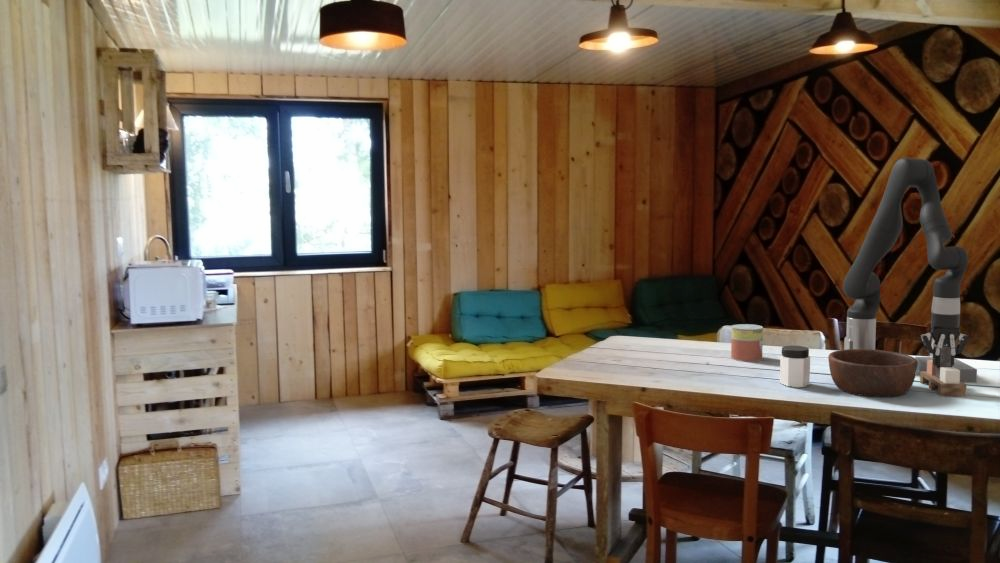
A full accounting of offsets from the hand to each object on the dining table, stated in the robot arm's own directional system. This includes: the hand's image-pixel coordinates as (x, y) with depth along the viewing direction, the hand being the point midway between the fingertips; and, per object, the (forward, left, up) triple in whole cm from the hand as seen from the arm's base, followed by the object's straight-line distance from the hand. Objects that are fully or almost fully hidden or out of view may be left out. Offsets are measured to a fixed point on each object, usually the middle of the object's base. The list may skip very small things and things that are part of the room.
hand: (943, 366), depth 233 cm
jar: (-43, +3, -7) cm, 44 cm away
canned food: (-52, +41, -7) cm, 67 cm away
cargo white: (0, -5, -4) cm, 6 cm away
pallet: (0, 0, -7) cm, 7 cm away
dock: (+8, +19, -7) cm, 22 cm away
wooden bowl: (-21, -1, -8) cm, 22 cm away
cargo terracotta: (0, +5, -4) cm, 6 cm away
